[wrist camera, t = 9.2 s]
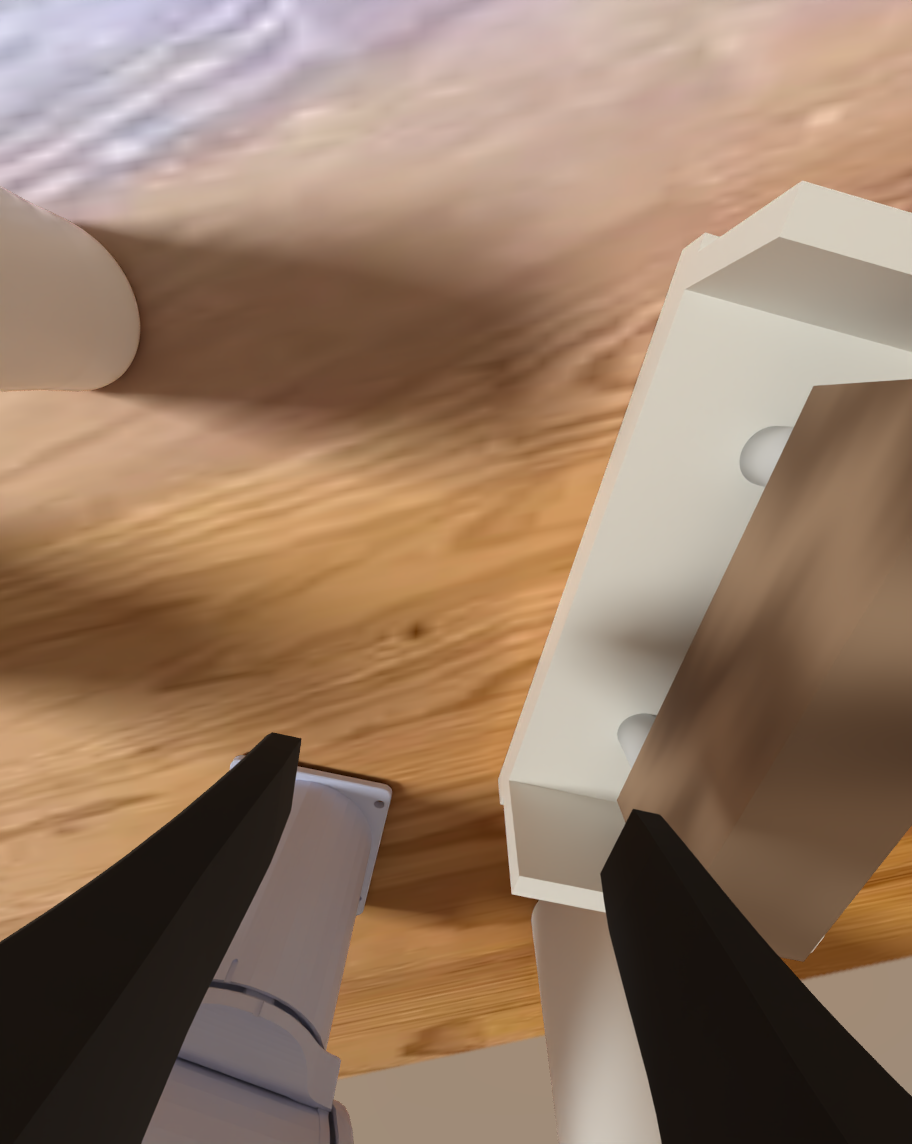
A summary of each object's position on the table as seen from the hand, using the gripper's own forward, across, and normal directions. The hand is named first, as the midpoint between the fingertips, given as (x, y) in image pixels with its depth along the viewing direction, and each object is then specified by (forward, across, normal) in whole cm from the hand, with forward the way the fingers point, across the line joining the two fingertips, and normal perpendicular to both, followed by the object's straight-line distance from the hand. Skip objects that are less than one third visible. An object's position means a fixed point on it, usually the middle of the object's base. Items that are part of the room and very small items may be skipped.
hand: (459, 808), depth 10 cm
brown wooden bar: (+7, -10, -3) cm, 12 cm away
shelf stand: (+10, -10, -3) cm, 15 cm away
